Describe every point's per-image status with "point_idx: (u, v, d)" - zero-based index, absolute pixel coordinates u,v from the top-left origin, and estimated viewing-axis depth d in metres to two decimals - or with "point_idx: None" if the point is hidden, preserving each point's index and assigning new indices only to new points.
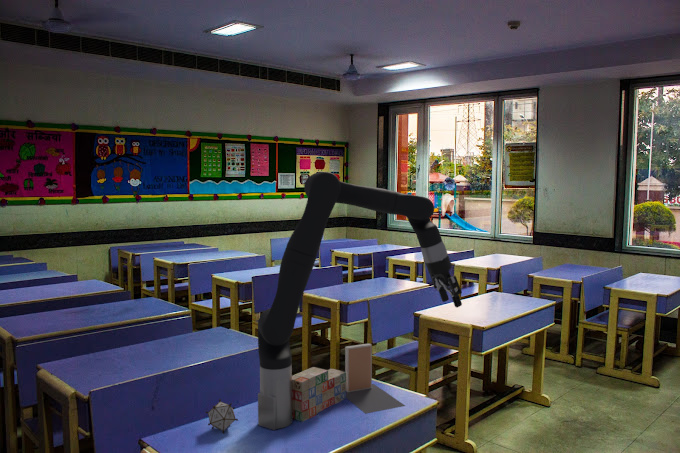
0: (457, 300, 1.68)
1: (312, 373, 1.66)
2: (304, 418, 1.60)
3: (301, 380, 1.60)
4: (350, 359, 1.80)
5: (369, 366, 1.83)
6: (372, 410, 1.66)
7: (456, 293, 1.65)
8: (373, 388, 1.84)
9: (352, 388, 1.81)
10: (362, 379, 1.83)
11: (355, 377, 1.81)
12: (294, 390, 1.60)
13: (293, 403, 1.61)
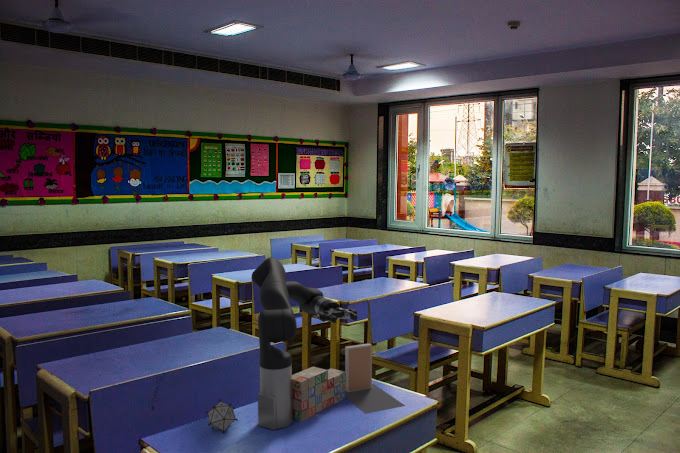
0: None
1: (312, 373, 1.66)
2: (303, 418, 1.61)
3: (300, 380, 1.60)
4: (350, 359, 1.80)
5: (369, 366, 1.83)
6: (372, 410, 1.66)
7: None
8: (373, 388, 1.84)
9: (352, 388, 1.81)
10: (362, 379, 1.83)
11: (355, 377, 1.81)
12: (294, 390, 1.61)
13: (292, 403, 1.62)
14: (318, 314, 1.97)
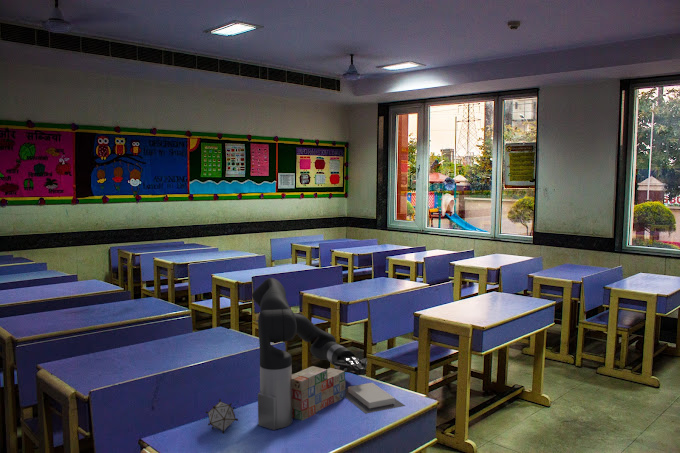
0: None
1: (311, 372, 1.66)
2: (303, 417, 1.61)
3: (300, 379, 1.61)
4: None
5: None
6: (372, 410, 1.66)
7: None
8: None
9: None
10: None
11: None
12: (294, 389, 1.61)
13: (292, 402, 1.62)
14: (338, 366, 1.85)
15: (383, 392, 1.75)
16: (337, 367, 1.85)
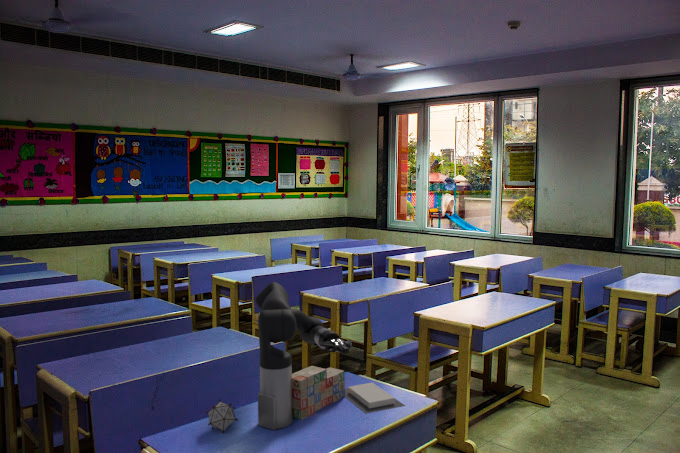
0: None
1: (311, 372, 1.67)
2: (303, 416, 1.61)
3: (300, 379, 1.61)
4: None
5: None
6: (372, 410, 1.66)
7: None
8: None
9: None
10: None
11: None
12: (293, 388, 1.62)
13: (292, 401, 1.62)
14: (324, 346, 1.96)
15: (383, 392, 1.75)
16: (323, 347, 1.96)
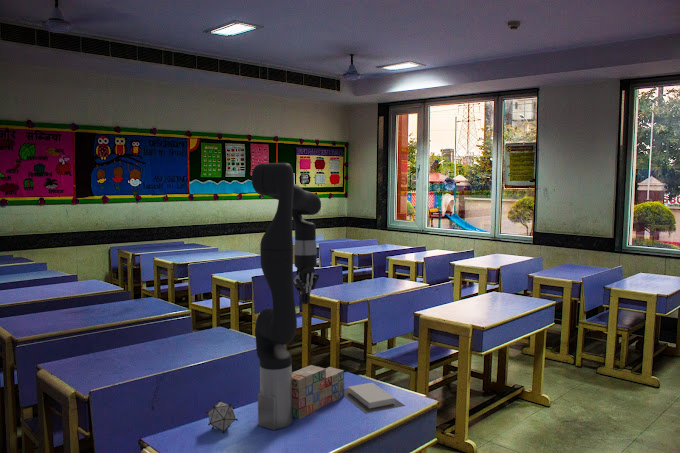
0: None
1: (309, 371, 1.67)
2: (301, 415, 1.62)
3: (298, 378, 1.62)
4: None
5: None
6: (372, 410, 1.66)
7: None
8: None
9: None
10: None
11: None
12: None
13: None
14: (297, 284, 1.81)
15: (383, 392, 1.75)
16: (295, 283, 1.81)
